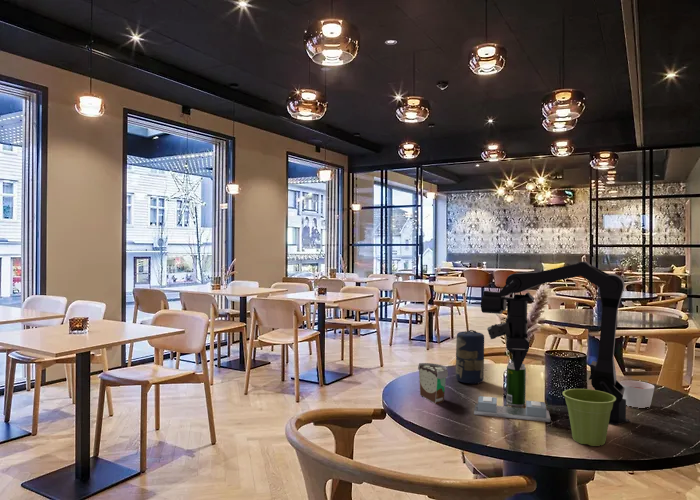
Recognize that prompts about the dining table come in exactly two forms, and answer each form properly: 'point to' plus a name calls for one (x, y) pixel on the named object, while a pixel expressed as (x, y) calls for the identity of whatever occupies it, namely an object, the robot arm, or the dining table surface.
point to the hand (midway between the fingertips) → (516, 367)
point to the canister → (470, 357)
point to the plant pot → (589, 414)
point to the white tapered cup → (637, 393)
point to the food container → (432, 381)
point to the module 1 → (487, 404)
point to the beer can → (516, 385)
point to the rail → (512, 413)
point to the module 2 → (535, 408)
